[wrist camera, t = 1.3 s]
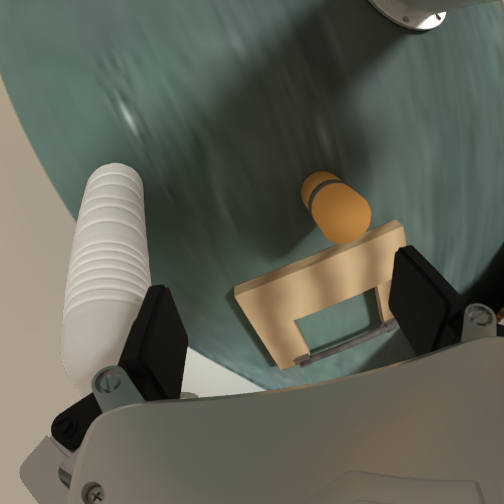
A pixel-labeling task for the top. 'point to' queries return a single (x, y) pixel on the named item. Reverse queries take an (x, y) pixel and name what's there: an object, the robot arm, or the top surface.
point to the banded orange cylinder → (335, 207)
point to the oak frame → (321, 292)
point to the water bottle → (105, 274)
